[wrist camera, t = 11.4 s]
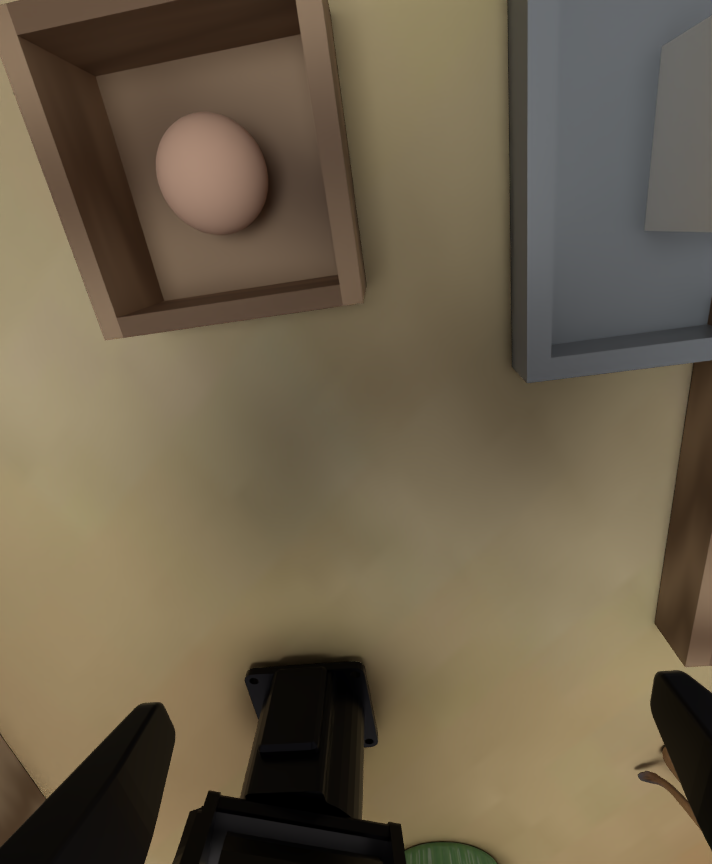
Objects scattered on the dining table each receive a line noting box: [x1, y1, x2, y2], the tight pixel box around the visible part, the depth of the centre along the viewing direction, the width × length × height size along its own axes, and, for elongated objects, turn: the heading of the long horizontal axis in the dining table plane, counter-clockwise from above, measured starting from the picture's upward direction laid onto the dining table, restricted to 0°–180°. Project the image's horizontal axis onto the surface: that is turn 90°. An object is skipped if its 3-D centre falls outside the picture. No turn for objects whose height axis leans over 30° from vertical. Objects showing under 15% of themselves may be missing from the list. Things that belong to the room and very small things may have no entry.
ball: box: [156, 112, 268, 235], centre depth 14 cm, size 3×3×3 cm
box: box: [0, 0, 366, 340], centre depth 14 cm, size 8×8×4 cm
